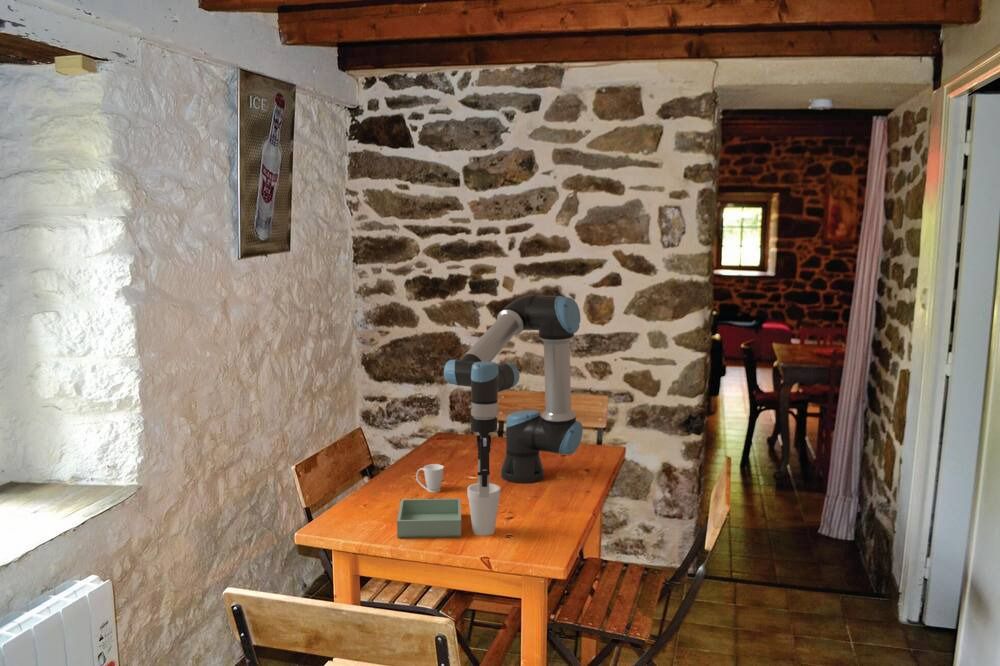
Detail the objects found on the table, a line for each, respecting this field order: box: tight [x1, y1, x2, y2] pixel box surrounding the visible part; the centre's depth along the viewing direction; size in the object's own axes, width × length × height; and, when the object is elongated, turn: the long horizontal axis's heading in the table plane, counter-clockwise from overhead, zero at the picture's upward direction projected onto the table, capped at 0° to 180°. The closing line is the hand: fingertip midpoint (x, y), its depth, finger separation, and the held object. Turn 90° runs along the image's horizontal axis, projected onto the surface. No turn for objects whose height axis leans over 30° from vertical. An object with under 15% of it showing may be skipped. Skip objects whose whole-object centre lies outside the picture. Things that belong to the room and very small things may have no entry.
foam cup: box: [466, 482, 501, 537], centre depth 231 cm, size 10×9×13 cm
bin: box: [396, 498, 462, 539], centre depth 236 cm, size 18×18×5 cm
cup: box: [415, 463, 445, 493], centre depth 267 cm, size 7×10×8 cm
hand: (483, 489), depth 230 cm, fingers open, 13 cm apart
